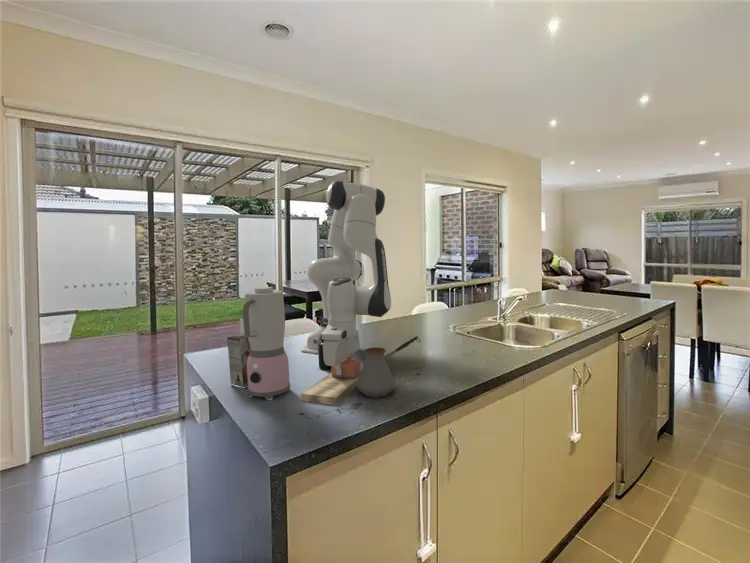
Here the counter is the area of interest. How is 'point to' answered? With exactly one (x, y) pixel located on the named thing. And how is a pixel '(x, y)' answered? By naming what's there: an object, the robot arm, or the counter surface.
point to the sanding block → (348, 369)
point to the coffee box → (238, 359)
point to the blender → (266, 342)
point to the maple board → (330, 389)
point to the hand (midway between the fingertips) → (343, 371)
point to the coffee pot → (377, 372)
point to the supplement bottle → (320, 356)
